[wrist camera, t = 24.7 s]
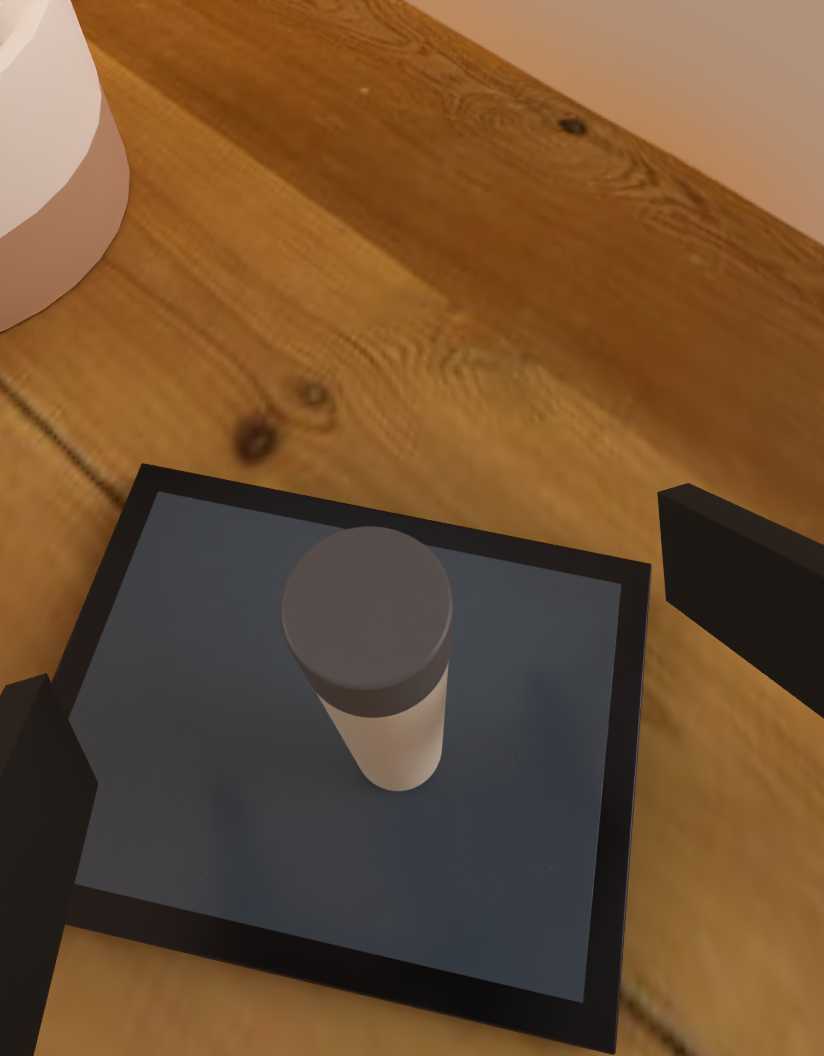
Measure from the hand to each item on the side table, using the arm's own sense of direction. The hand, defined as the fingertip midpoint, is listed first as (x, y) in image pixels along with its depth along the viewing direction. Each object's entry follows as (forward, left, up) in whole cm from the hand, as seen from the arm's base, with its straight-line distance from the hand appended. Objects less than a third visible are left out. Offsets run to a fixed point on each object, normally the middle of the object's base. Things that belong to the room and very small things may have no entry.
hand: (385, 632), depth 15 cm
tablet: (+1, +1, -9) cm, 9 cm away
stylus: (-1, +1, -8) cm, 8 cm away
